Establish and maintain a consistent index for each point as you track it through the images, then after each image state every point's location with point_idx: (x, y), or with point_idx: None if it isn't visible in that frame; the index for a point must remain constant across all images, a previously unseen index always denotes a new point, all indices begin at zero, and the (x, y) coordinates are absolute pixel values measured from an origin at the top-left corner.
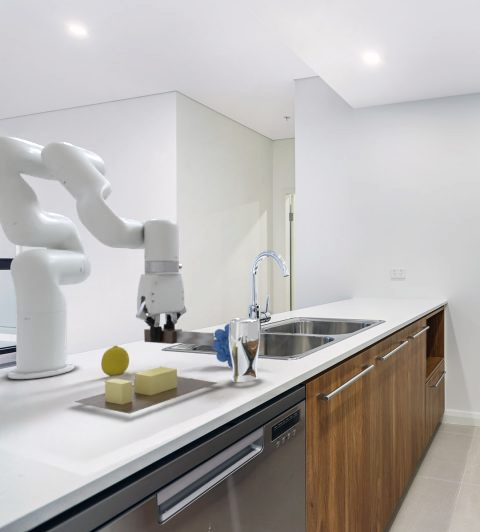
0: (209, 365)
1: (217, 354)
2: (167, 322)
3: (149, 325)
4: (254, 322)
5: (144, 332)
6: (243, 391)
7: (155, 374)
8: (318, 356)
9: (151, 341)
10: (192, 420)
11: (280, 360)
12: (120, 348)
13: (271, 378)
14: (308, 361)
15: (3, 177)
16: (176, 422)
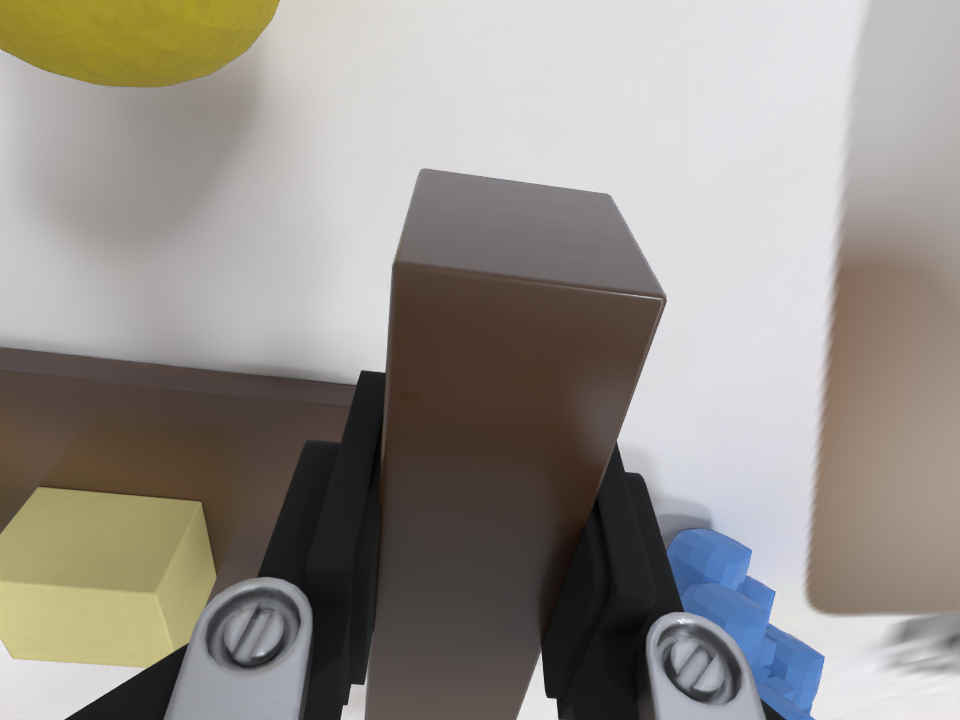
0: (769, 384)
1: (680, 572)
2: (592, 691)
3: (212, 637)
4: None
5: (399, 242)
6: (363, 694)
7: (44, 657)
8: (946, 706)
9: (360, 379)
10: (88, 704)
11: (878, 628)
12: (43, 5)
13: (541, 698)
14: (839, 705)
15: None
16: (49, 687)
